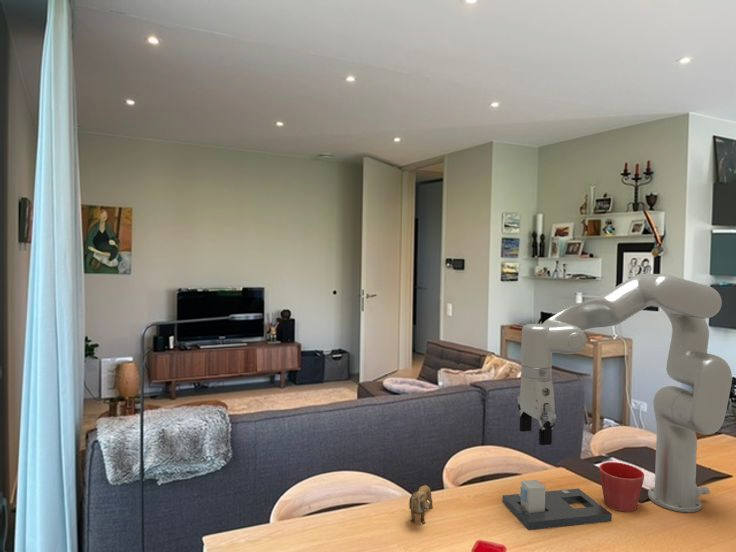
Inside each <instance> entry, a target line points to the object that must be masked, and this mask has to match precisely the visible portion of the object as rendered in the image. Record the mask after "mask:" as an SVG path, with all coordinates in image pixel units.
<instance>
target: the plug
mask: <svg viewBox="0 0 736 552" xmlns="http://www.w3.org/2000/svg"><path fill="white" fill-rule="evenodd" d="M520 484H521V485H520V493H519V494H520V498H521V507H522V508H523V509H524V510H525V511H526V512H527V513H536V512H545V491H546V486H545V485H543V483H541V482H540V481H539V480H537V479H529V480H521V483H520Z"/></svg>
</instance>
